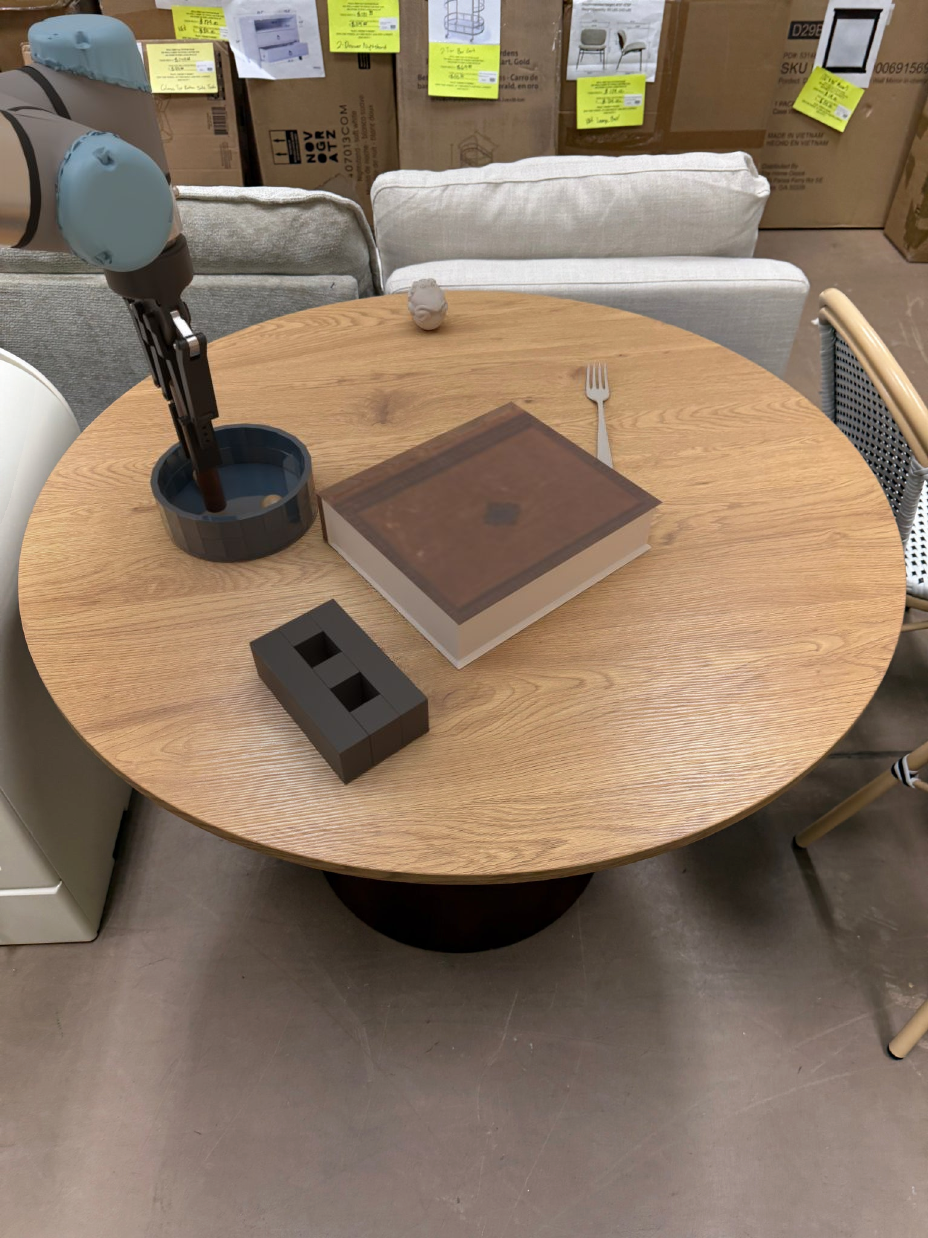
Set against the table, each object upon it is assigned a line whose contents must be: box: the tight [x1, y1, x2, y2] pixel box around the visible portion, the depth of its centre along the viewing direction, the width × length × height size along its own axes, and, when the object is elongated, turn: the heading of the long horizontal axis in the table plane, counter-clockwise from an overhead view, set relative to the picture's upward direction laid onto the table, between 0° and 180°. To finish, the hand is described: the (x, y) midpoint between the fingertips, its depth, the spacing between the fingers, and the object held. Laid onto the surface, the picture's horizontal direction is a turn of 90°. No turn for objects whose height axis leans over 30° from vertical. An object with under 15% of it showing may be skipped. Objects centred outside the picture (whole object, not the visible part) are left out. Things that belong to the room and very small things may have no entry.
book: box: [316, 401, 664, 670], centre depth 89 cm, size 24×28×6 cm
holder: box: [249, 598, 430, 785], centre depth 75 cm, size 9×15×5 cm, turn 39°
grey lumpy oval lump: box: [406, 277, 449, 331], centre depth 122 cm, size 6×7×7 cm
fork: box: [585, 361, 614, 469], centre depth 107 cm, size 3×24×2 cm, turn 177°
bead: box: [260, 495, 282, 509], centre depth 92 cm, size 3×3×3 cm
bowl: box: [149, 422, 319, 563], centre depth 93 cm, size 18×18×6 cm
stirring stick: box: [169, 379, 227, 513], centre depth 86 cm, size 2×2×16 cm
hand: (203, 459), depth 88 cm, fingers closed on stirring stick, 2 cm apart
